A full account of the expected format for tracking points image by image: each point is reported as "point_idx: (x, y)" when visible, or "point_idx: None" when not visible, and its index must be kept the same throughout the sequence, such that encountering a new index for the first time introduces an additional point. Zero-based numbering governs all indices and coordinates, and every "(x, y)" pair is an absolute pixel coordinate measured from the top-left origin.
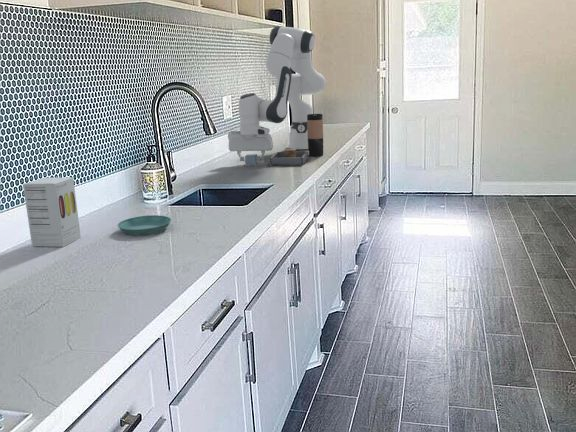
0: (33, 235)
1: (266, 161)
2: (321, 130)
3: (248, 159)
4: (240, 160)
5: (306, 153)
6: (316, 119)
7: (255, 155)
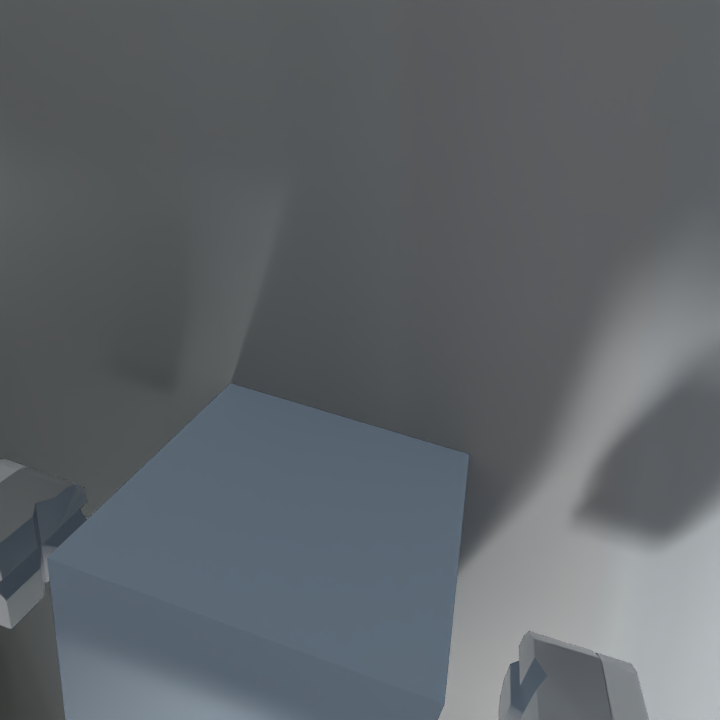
0: None
1: None
2: None
3: (346, 537)
4: (619, 664)
5: None
6: None
7: (64, 635)
